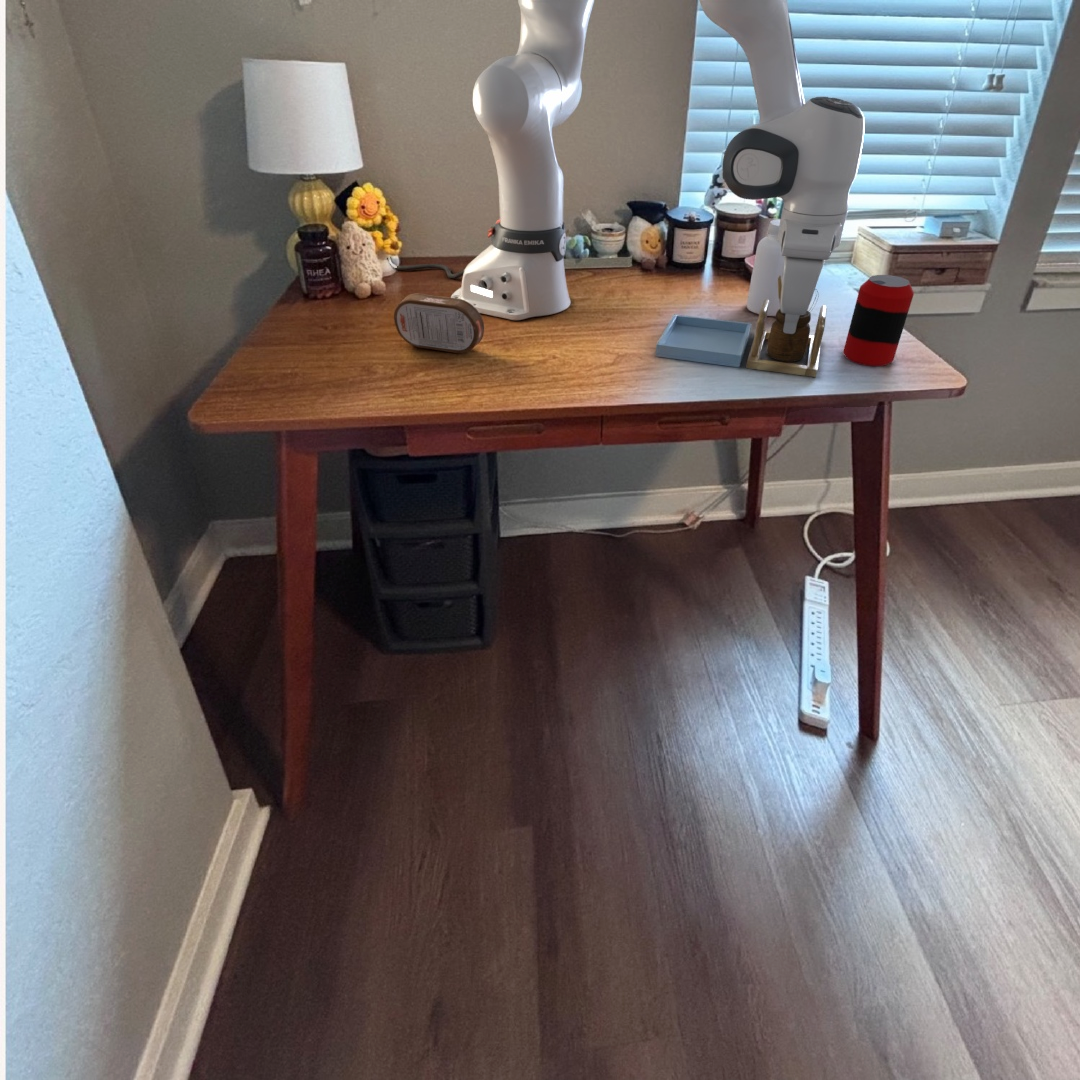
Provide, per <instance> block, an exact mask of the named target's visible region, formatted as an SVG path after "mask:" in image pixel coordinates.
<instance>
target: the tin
mask: <svg viewBox="0 0 1080 1080" xmlns="http://www.w3.org/2000/svg"><path fill="white" fill-rule="evenodd" d="M393 320H394V321H393V322H394V325H395V329H396V331H397V333H398V335H399V336H400V337H401V338H402V339H403V340H404V342H406V343H407V344H408V345H411V346H412V347H415V348H419V349H426V350H432V351H433V350H434V351H441V352H448V353H454V354H465V353H468V352H470V351H471V350H473V349H474V348H475V347H476V346H477V345H478V344H479V343H480V342H481V341H482V339H483V337H484V333H485V324H484V320H483V317H482V315H481V313H479V312H478V310H477V309H476V308H475V307H474V306H473V305H472V304H470V303H469V302H467V301H465V300H462V299H457V298H451V297H450V296H439V295H433V294H425V293H417V292H416V293H410V294H408V295H406V296H405V297H404V298H402V300H401V301H400V302H399V303H398V304H397V305H396V307H395V309H394V312H393Z"/></svg>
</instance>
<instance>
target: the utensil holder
mask: <svg viewBox="0 0 1080 1080" xmlns="http://www.w3.org/2000/svg"><path fill="white" fill-rule="evenodd" d="M781 289H782V285H781V275H780V276H779V278H778V296H779V300H780V301H781ZM814 292H816V293H817V296H815V297H814V300H813V303H812V305H811V306H810V307H809V309H808V310H807V312H806V314H805V315H800V316H799V319H798V322H797V326H796V331H795V333H794V334H788V333H784V332H783V328H784V323H785V313H782V312H781V309H779V310H778V311H777V313H776V316H774V317H775V320H774V321H773V323H772V324H771V327H770V329H769V330H770V335H769V340H767V341H768V342H767V346H766V348H767V349H766V353H767V354H766V355H768V357H769V358H770V359H773V360H776V361H778V362H783V363H794V362H798V361H801V360H803V358H804V357H805V355H806V351H807V348H808V344H807V343H808V339H809V335H811V326H810V322H811V321H812V311H813V309H814V308H815V307H816V304H817V302H818V300H819V296H820V293H819V291H818V289H817V288H815V291H814ZM815 301H816V302H815ZM814 303H815V304H814ZM813 305H814V306H813ZM811 309H812V310H811Z"/></svg>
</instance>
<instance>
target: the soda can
mask: <svg viewBox="0 0 1080 1080" xmlns="http://www.w3.org/2000/svg"><path fill="white" fill-rule="evenodd" d="M914 294H915V292H914V290H913V287H912V285H911V282H910V280H909V279H907V278H905V277H901V276H897V275H891V274H875V275H872V276H870V277H868V279H866V281H864V282H863V283H862V284H861V285H860V287H859V289H858V293H857V297H856V301H855V305H854V308H853V309H854V310H853V312H852V316H851V321H850V323H849V324H850V325H849V327H848V328H849V329H848V332H847V336H846V340H845V343H844V347H843V351H842V352H843V355H844V357H845V358H846V359H847V360H849V361H850V362H852V363H854V364H858V365H861V366H868V367H884V366H886V365H889V364H891V363H892V362H893V361H894V359H895V356H896V353H897V350H898V346H899V344H900V340H901V337H902V333H903V331H904V327H905V324H906V320H907V317H908V315H909V311H910V308H911V305H912V301H913V298H914V296H915V295H914Z"/></svg>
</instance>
